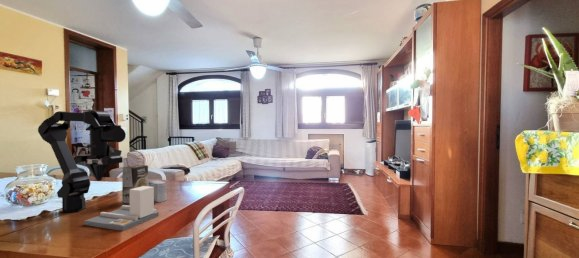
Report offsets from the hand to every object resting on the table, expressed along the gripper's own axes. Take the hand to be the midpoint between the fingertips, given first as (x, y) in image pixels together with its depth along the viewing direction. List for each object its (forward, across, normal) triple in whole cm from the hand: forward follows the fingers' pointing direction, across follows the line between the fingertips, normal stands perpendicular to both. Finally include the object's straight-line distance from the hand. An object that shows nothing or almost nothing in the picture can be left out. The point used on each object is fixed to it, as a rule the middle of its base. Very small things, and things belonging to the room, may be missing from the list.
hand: (99, 180), depth 103 cm
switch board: (+13, -17, +3) cm, 21 cm away
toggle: (+11, -22, +1) cm, 25 cm away
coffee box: (+13, +1, -18) cm, 22 cm away
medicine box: (+13, -8, -21) cm, 26 cm away
